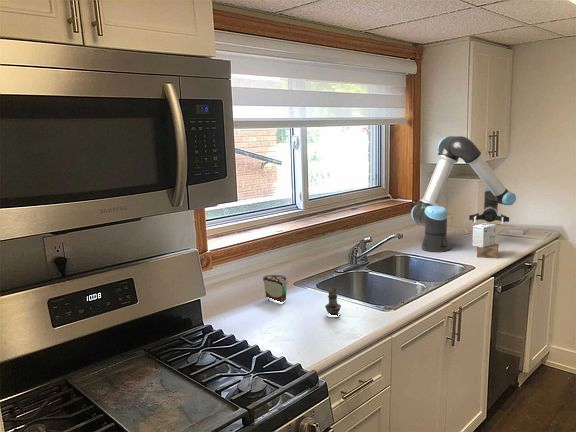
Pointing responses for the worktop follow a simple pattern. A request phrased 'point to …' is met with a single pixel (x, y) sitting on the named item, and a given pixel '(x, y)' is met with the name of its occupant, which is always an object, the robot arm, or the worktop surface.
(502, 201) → the robot arm
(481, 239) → the light bulb box
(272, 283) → the food container
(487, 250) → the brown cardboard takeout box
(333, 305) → the dark grey tall piece
